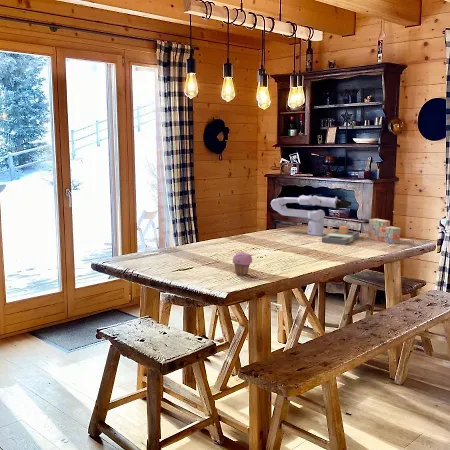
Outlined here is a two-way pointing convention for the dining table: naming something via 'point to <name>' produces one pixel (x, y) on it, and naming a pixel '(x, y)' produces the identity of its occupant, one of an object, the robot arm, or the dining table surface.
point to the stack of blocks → (383, 231)
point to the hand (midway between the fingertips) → (349, 204)
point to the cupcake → (242, 263)
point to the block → (343, 229)
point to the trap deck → (340, 237)
